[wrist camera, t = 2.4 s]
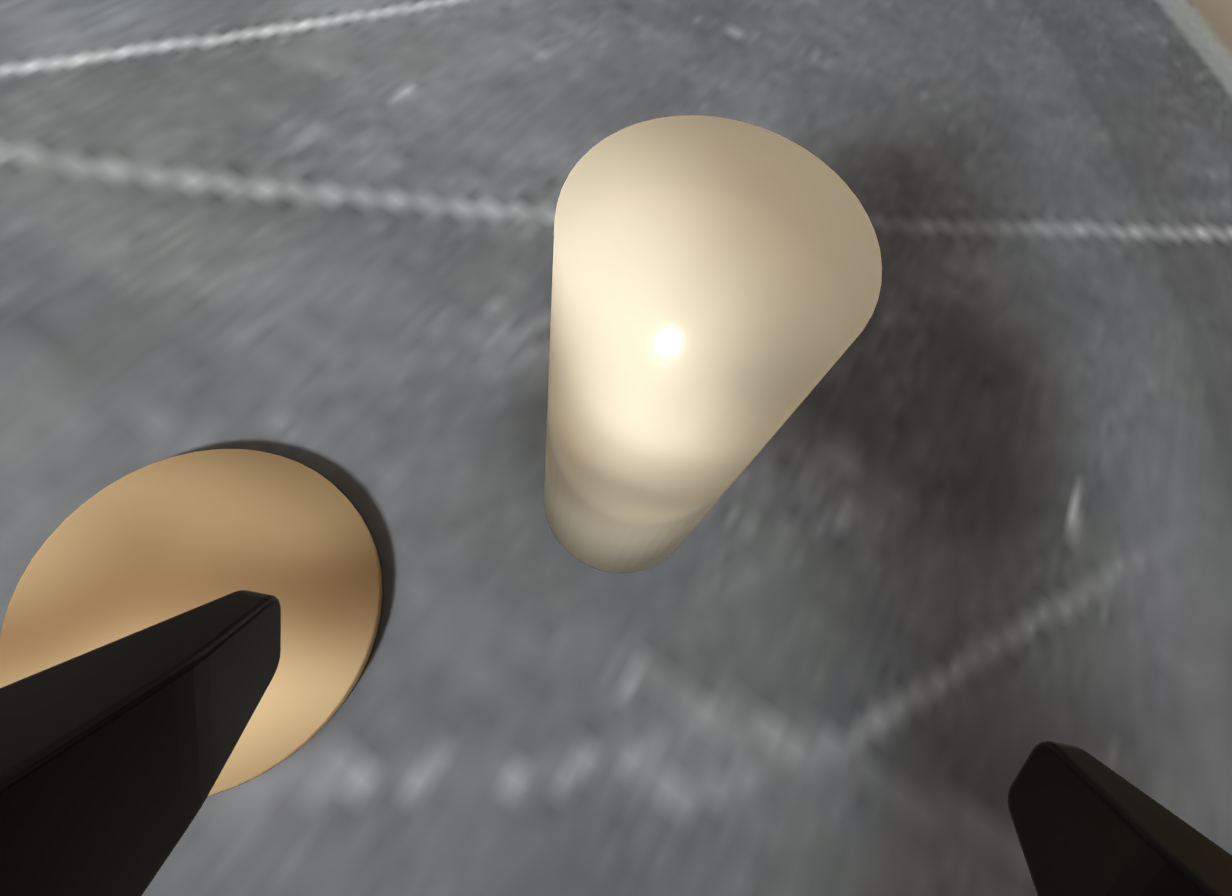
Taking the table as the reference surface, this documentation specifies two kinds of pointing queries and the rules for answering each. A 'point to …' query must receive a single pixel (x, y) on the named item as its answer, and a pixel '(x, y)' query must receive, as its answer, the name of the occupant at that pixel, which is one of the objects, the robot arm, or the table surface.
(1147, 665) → the table surface
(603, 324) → the cream glossy rounded body
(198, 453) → the cork coaster
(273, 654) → the robot arm
